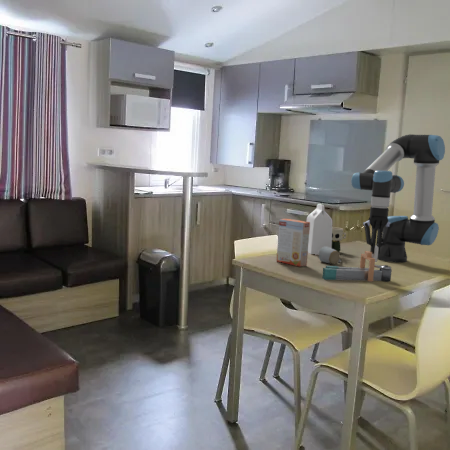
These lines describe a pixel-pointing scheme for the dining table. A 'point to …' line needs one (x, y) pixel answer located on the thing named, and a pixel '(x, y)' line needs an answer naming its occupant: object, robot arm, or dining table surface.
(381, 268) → the block
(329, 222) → the milk
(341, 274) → the ball-hinged grey bar
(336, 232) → the character mug
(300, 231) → the cracker box
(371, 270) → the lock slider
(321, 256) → the ceramic mug
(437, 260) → the dining table surface
